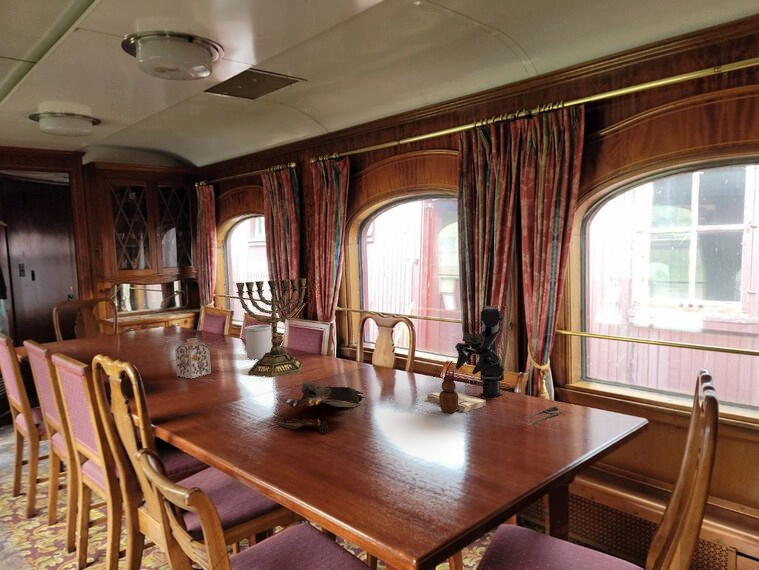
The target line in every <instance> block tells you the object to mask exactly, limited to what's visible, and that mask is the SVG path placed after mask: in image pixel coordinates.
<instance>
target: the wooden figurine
mask: <svg viewBox="0 0 759 570" xmlns="http://www.w3.org/2000/svg"><path fill="white" fill-rule="evenodd" d="M456 389H457V388H456V382H455V371H454V370H452V373H450V371H448V374H446V375H445V376H443V380H442V382H441V390H440V391H441V393H440V395H439V402H440V404H439V407H440V409H441V411H442V412H444V413H447V414H451V413H456V411H457V410H456V409H457V407H458V394H457V392H458V391H456V392H455V390H456Z"/></svg>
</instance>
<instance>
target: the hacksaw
mask: <svg viewBox="0 0 759 570" xmlns="http://www.w3.org/2000/svg"><path fill="white" fill-rule="evenodd" d="M553 410H554V411H555V412H553ZM558 410H559V407H558V406H551V407H549V408H547V409H544V410H542V411H538V412H535V413H532V414H529V415H526V416H525V418H532V417H534V416H537V415H538V416H539V415H541V414H543V413H544V414H548V415H546V416H544V417H541V418H539V419H536V420H534V421H531V422H529V423H528V422H526V421H522V423H524V424H526V425H529V426H530V425H532V426H533V430H535V429H537V427H536V426H535V425H536V424H538V423H539V422H541V421H544V420H547V418H548V419H550V418H553V417H557V416H560V414H563V416H565V415H566V413H565V411H564V412H562V411H559V412H556V411H558ZM549 411H550V412H549ZM517 422H519V423H521V421H520V420H517Z"/></svg>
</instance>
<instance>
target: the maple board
mask: <svg viewBox="0 0 759 570" xmlns="http://www.w3.org/2000/svg"><path fill="white" fill-rule="evenodd" d="M441 391H442V390H440V391H436V392H432V393H429V394H427V395H426V400H427V399H429V400H428V401H430V400H431V401H430V402H433V401H434V402H433V403H436V402H437V403H436V404H439V405H440V402H439V395H440V393H441ZM454 391H455V390H454ZM455 392H457V394H458V407H457V410H456V411H460V412H462V413H466V412H469V411H472V410H477V409H479V408H483V406H484V407H486V406H487V400H486V399H482V398H479V397H476V396H472V395H470V394H469V395H468V394H465V393H462V392H458V391H455Z"/></svg>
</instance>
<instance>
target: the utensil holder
mask: <svg viewBox="0 0 759 570" xmlns="http://www.w3.org/2000/svg"><path fill="white" fill-rule="evenodd" d="M243 329H244V332H245V334H244V335H245V347H246V355H247V356H246V357H247V359H248V358H249V359H248V360H252V359H258V360H259V359H261V358H262V357H263V356H264V354H265V353H267V352H270V350H271V348H272V346H273V344H272V342H271V339H272V338H273V336H272V324H271V325H270V324H256V325H248V326H245V327H244V328H243Z"/></svg>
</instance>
